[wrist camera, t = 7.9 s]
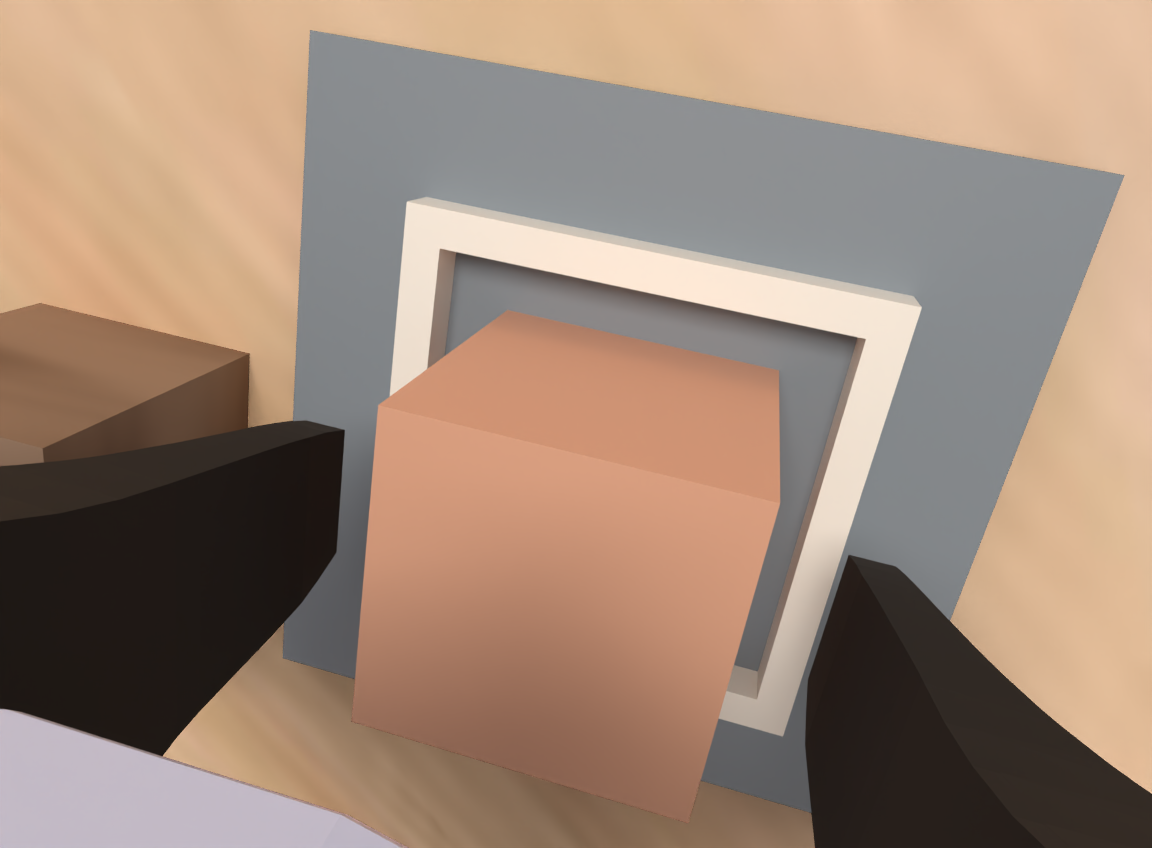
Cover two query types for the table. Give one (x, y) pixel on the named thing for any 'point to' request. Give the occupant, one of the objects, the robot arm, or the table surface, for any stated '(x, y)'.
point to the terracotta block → (567, 555)
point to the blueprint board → (693, 313)
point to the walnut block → (109, 387)
